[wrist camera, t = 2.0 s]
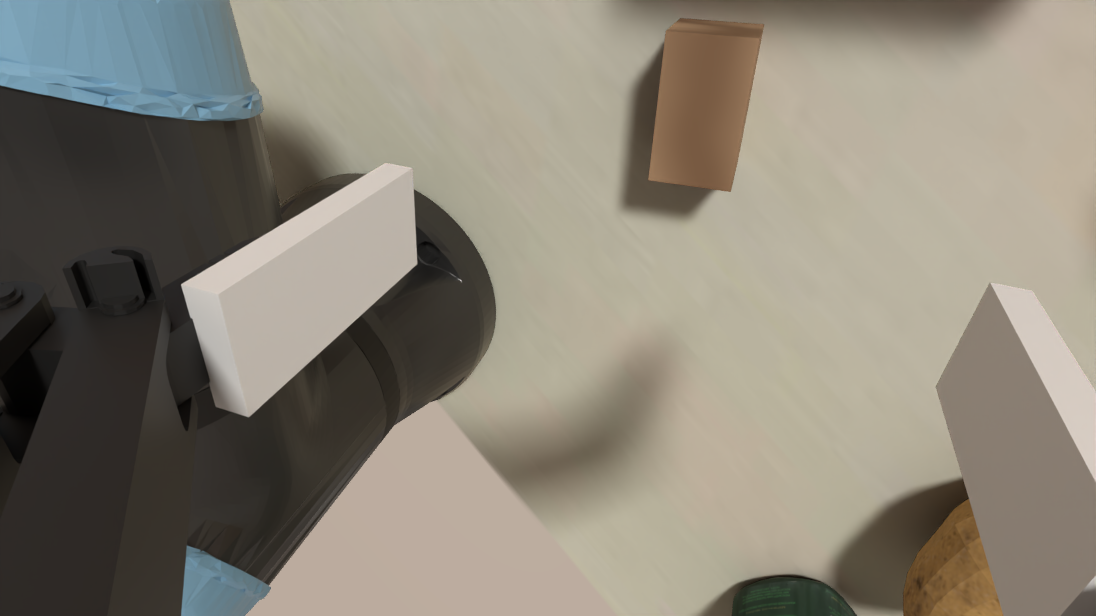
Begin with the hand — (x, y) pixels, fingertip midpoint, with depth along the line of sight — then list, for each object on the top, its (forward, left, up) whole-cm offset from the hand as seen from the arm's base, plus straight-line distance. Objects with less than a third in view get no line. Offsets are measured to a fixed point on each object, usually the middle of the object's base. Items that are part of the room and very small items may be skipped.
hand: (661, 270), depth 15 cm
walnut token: (-1, 0, -17) cm, 17 cm away
